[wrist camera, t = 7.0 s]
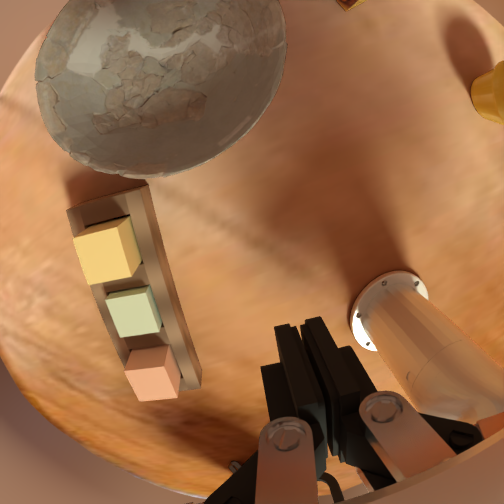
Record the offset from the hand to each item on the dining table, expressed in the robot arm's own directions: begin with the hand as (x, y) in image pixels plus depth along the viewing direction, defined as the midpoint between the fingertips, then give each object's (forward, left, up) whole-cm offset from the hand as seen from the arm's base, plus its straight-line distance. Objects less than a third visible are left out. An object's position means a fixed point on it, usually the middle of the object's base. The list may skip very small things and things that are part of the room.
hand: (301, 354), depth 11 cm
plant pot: (+1, -39, -27) cm, 48 cm away
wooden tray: (-4, +16, -27) cm, 32 cm away
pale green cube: (-4, +16, -27) cm, 31 cm away
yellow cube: (+4, +14, -24) cm, 28 cm away
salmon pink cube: (-12, +18, -24) cm, 32 cm away
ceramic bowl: (+18, +1, -27) cm, 33 cm away
